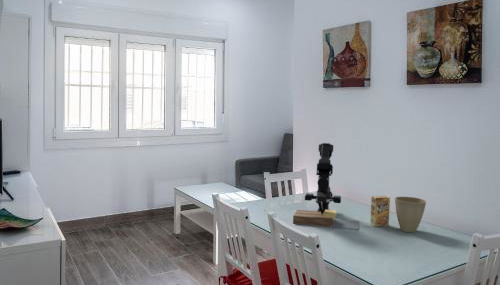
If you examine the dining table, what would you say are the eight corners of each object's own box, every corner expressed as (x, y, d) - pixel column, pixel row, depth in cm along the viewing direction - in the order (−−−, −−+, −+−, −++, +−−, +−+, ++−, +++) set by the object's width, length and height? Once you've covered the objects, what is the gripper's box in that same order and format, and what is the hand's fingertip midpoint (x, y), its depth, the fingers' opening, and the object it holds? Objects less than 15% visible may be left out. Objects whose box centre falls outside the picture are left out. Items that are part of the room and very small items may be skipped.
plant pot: (424, 236, 207) (426, 204, 206) (392, 232, 213) (394, 201, 211) (423, 228, 221) (425, 198, 220) (393, 224, 226) (395, 195, 225)
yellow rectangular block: (325, 213, 231) (325, 209, 231) (336, 214, 229) (336, 210, 229) (323, 217, 222) (323, 213, 222) (335, 218, 221) (335, 214, 220)
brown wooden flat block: (296, 216, 238) (297, 209, 237) (333, 220, 233) (333, 212, 232) (293, 223, 224) (293, 215, 224) (331, 227, 219) (331, 219, 219)
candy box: (374, 226, 221) (375, 197, 220) (369, 224, 225) (371, 196, 224) (388, 225, 224) (390, 197, 223) (384, 223, 228) (385, 195, 227)
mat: (334, 219, 233) (334, 218, 233) (358, 221, 230) (358, 221, 230) (332, 227, 218) (332, 226, 218) (358, 230, 215) (358, 229, 215)
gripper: (303, 186, 220) (302, 216, 222) (340, 189, 215) (339, 219, 217) (306, 182, 231) (305, 211, 232) (341, 185, 226) (340, 214, 227)
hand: (322, 214), depth 227 cm, fingers closed
